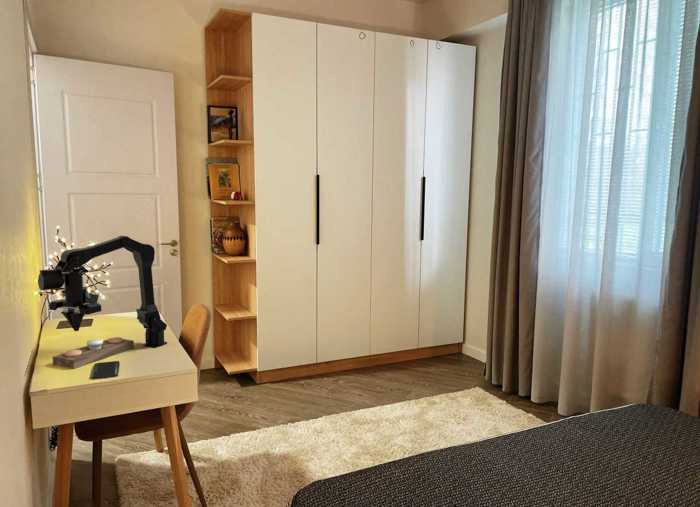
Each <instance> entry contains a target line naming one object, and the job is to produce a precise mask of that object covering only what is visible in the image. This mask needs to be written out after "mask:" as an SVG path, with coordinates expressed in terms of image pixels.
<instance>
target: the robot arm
mask: <svg viewBox="0 0 700 507" xmlns="http://www.w3.org/2000/svg"><path fill="white" fill-rule="evenodd" d="M120 249H125V250H126V251H129V252H130V253H132V257H133V261H134V262H135V264H136V266H137V268H138V278H139V279H138V280H139V281H138V282H139V290H140V291H139V292H140V301H141V302H140V304H141V305H140V307H139V308H136V315H137V317H136V319H137V320H138V322H139V323H140V324H141V325H142V326H143V328H144V329H145V334H144V336H145V343H144V344H143V345H142V346H143V347H144V346H145V347H152V348H158V347H161V346H163V345H166V344H167V345H168V342H167V341H165V331H166V330H167V327H168V324H167V323H166V322H164V321H163V320H162V318H161V315H160V311H159V309H158V307H157V304H156V303H155V292H154V291H155V290H154V280H153V268H152V266H153V264H154V261H155V253H156V251H155V247H153V246H152V245H151V244H148V243H143V242H139V241H137V240H134V239H133V238H131V237H129V236H127V235H119V236H117V237H115V238H112V239H109V240H105V241H103V242H100V243H96V244H93V245H90V246H88V247H86V246H85V247H79V248H78V247H77V248H72V249H66V250H64V251H63V252H62V253H61V255H60V258H59V259H60V260H59V261H58V262H57V264H56V265H55V266H54V268H53V269H39V274H38V279H37V285H38V289H39V290H40V291H51V290H57V289H58V290H59V289H61V288H62V287H64V289H63V290H61V294H64V298H63V299H62V298H61V299H57V300H52V301H50V303H48V309H49V310H48V311H57V309H59V308H61V309H62V311H61V312H60V313H61V315H63V317H64V318H65V319H66V320H67V322H68V323H69V325H70V326H71V328H72V329H73V331H74V332H79V331H80V328H81V324H82V322H83V318H84V316H85V315H92V314H95V313H99V312H102V309H103V308H102V305H101V304H100V303H98V300H99V296H100V295H99V294H95V293H90V292H88V289H87V288H85V287H84V279H83V278H84V277H83V274H86V273H89V272H90V270H88V268H86V267H85V266H84V265H85V264H87V263H89V262H90V261H92V260H93V259H94V258H98V257H100V256H103V255H106V254H109V253H112V252H115V251H117V250H120Z"/></svg>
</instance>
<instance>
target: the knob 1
mask: <svg viewBox="0 0 700 507" xmlns="http://www.w3.org/2000/svg"><path fill="white" fill-rule="evenodd" d="M64 353H65V357H71V358H73V357H77V356H80V355H82V351H81V350H75V349H73V350H68V351H66V352H64Z"/></svg>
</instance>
